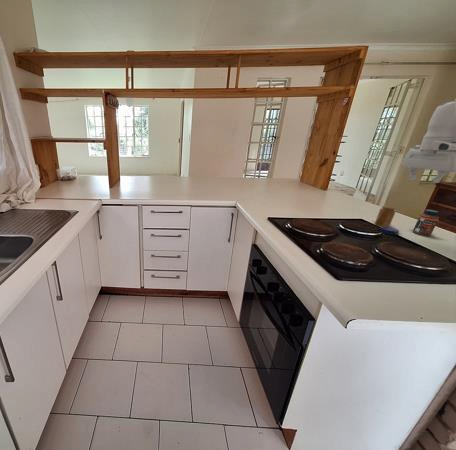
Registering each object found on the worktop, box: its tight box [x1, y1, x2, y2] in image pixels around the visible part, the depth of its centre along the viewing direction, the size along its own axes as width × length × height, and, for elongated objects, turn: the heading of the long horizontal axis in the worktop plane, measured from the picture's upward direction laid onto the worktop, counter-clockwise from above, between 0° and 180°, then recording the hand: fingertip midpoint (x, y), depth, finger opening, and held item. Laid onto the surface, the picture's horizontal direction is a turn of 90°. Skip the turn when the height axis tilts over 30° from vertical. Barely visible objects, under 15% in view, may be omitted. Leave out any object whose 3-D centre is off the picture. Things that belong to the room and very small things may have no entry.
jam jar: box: [374, 205, 397, 228], centre depth 118 cm, size 6×6×10 cm
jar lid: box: [379, 226, 400, 236], centre depth 109 cm, size 6×6×2 cm
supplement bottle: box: [412, 209, 440, 237], centre depth 108 cm, size 6×6×11 cm
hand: (422, 180), depth 97 cm, fingers open, 8 cm apart
